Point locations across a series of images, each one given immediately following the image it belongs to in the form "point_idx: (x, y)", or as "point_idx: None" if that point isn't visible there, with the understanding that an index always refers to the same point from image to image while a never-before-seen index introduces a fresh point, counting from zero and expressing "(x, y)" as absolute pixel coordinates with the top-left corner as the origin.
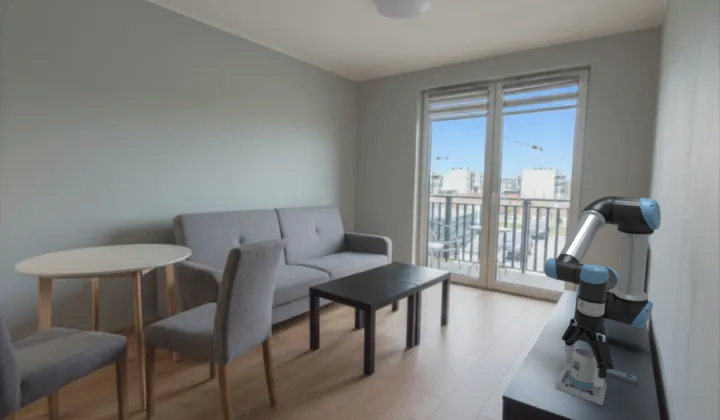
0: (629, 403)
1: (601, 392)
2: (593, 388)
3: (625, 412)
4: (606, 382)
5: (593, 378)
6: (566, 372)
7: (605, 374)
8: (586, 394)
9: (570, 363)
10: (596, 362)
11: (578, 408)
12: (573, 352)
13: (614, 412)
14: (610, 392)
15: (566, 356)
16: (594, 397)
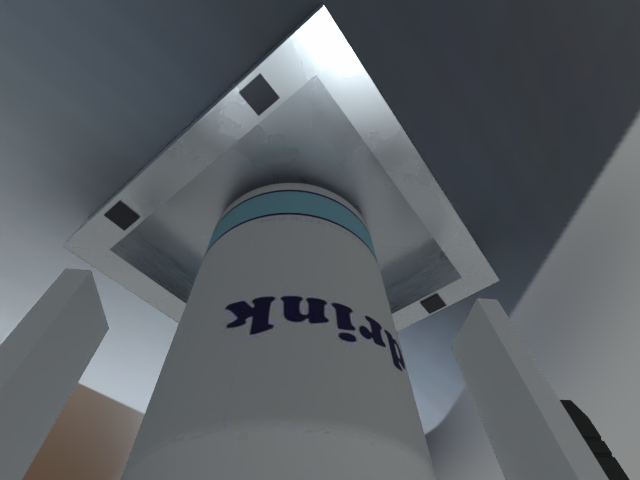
0: (567, 9)
1: (440, 227)
2: (361, 216)
3: (595, 167)
4: (327, 24)
5: (387, 300)
6: (121, 241)
7: (606, 453)
8: (412, 317)
9: (96, 298)
10: (425, 455)
11: (445, 363)
12: (3, 404)
13: (552, 235)
14: (390, 38)
15: (62, 397)
16: (452, 298)
